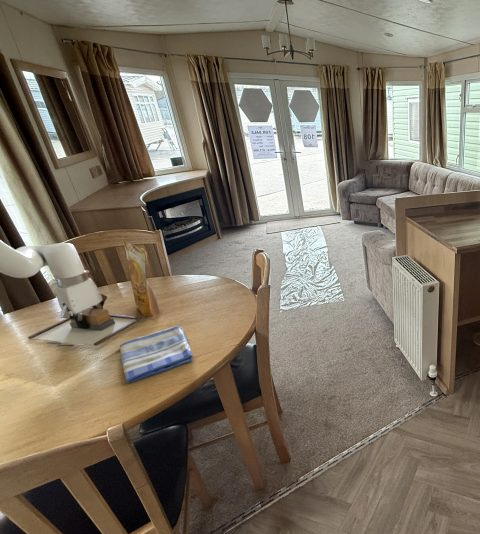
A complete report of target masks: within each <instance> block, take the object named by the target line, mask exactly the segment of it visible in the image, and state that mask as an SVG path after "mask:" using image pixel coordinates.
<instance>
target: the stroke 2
mask: <svg viewBox="0 0 480 534" xmlns="http://www.w3.org/2000/svg"><path fill="white" fill-rule="evenodd" d="M73 346H74V344H57V347H73Z"/></svg>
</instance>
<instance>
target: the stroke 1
mask: <svg viewBox="0 0 480 534" xmlns="http://www.w3.org/2000/svg"><path fill="white" fill-rule="evenodd" d="M47 344H53V345H63V342H58V341H48V342H47Z"/></svg>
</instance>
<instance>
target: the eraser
mask: <svg viewBox="0 0 480 534" xmlns="http://www.w3.org/2000/svg"><path fill="white" fill-rule="evenodd" d="M109 314H110V312H109V310H108V309H107V308H103V309H96V308H92V307H90V308H88V309H86V310H84V311H82V317H83V319H85V320H86V322H87V324H88V326H89V328H88V329H89V330H99V331H102V330H104V329H106V328H107V327H109V326H111V325H113V324H115V321H114V319H112V318H111V317H110V315H109ZM68 315H71V311H70V312H69V313H68ZM70 321H71V323H70V325H71V327H72V328H79V327H78V326H77V324H76V321H75V320H72V319H70ZM79 329H80V328H79Z"/></svg>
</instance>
